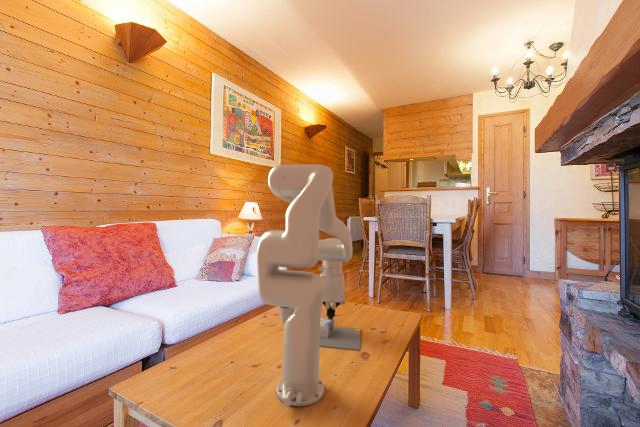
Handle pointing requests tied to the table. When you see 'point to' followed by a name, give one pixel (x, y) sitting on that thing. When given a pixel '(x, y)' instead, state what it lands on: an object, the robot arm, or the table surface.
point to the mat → (342, 339)
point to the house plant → (285, 313)
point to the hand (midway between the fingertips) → (330, 318)
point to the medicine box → (326, 327)
